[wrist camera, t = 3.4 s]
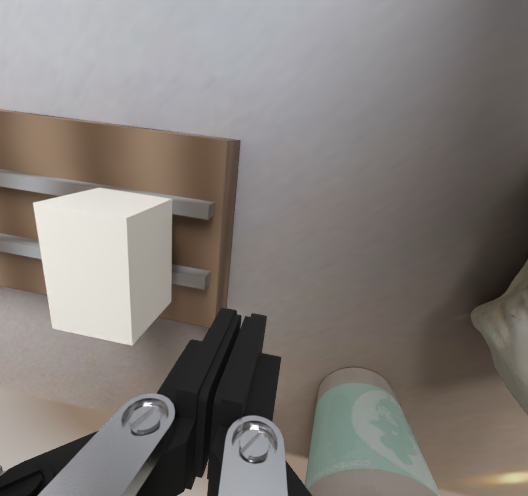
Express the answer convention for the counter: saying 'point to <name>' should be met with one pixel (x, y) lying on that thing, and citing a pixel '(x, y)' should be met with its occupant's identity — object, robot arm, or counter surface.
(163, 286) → the white block
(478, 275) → the counter surface
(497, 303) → the ceramic sculpture
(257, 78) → the counter surface
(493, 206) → the counter surface
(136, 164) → the linear slide rail
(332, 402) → the coffee cup
